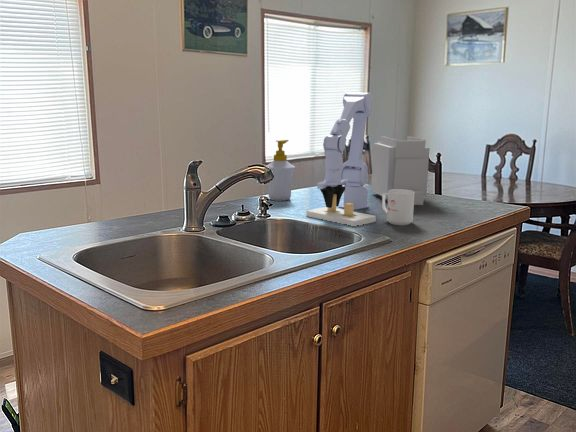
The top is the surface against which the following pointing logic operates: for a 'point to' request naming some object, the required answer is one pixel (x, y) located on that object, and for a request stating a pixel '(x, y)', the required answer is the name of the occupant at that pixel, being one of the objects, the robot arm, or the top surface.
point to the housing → (341, 216)
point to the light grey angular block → (400, 166)
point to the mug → (399, 206)
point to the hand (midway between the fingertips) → (332, 206)
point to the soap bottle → (281, 175)
